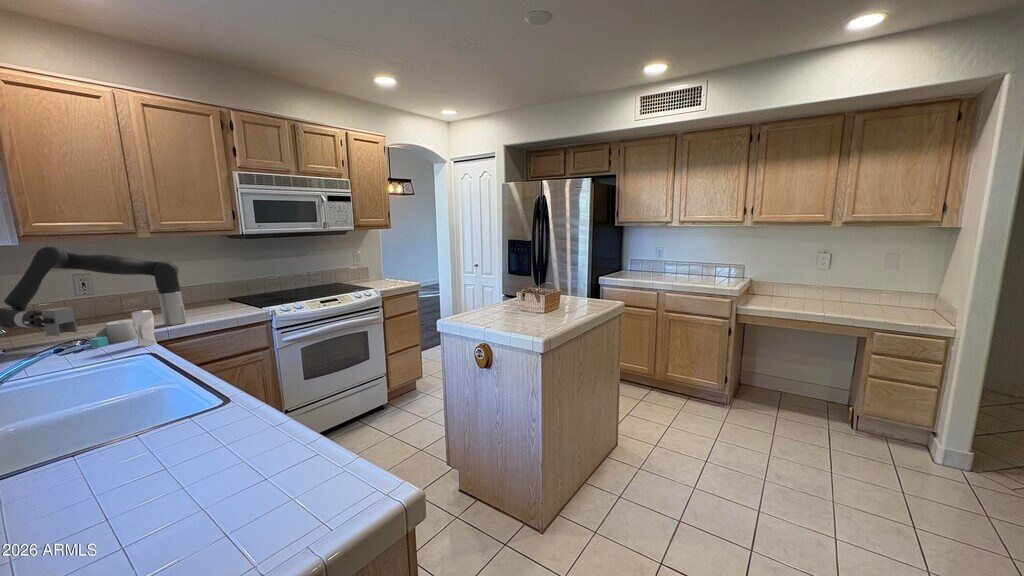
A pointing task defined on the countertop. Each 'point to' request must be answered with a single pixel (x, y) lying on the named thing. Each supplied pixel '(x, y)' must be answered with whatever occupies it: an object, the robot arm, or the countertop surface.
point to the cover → (59, 321)
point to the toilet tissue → (118, 331)
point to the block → (99, 342)
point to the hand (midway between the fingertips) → (63, 319)
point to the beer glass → (144, 327)
